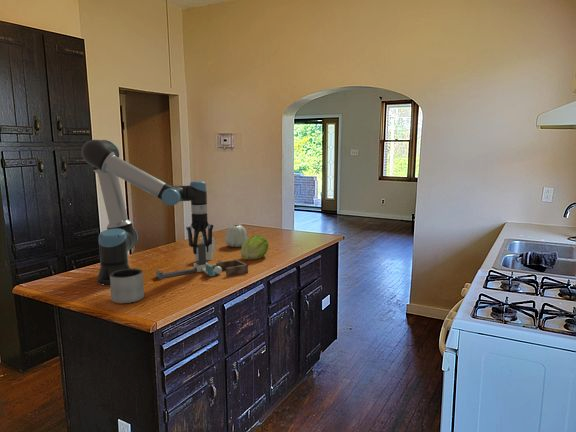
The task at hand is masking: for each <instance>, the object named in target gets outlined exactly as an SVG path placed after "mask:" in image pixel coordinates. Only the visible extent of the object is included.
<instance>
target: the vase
mask: <svg viewBox="0 0 576 432" xmlns="http://www.w3.org/2000/svg"><path fill="white" fill-rule="evenodd" d="M225 232H226V233H225V238H224V239H225V241H224V242H225V243H226V245H227V246H228V247H231V248H242V245H243V243H244V242H245V241H246V240H247V239H249V237H248V232H247V229H246V228H245V227H244V226H243V225H242V224H232V225H230V226H229V227H228V228H227V230H226V231H225Z"/></svg>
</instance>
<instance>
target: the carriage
mask: <svg viewBox="0 0 576 432" xmlns="http://www.w3.org/2000/svg"><path fill="white" fill-rule="evenodd" d="M197 247H198V255H199V261H197V260H195V261H196V262H195V263H193V268H196V269H197V272H196V273H201V272H203V273H205V275H207V276H209V277H215V276H216V274H215V273H214V269H213V266H212V265H213V264H210V263H208V262H207V260H206V248H205V244H204V243H200V242H199V243H197Z"/></svg>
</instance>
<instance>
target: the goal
mask: <svg viewBox="0 0 576 432" xmlns="http://www.w3.org/2000/svg"><path fill="white" fill-rule="evenodd" d="M215 265H216V266H220V267H221V268H222V271H225V277H227V278H228V277H232V276H238V275H244V274H248V273H249V264H247V263H245V262H242V261H240V260H239V259H230V260H224V261H222V262H218V263H217V262H216V263H215Z"/></svg>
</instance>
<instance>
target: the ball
mask: <svg viewBox="0 0 576 432" xmlns="http://www.w3.org/2000/svg"><path fill="white" fill-rule="evenodd" d="M213 272H214V273H215V275H220V274H221V273H222V272H223V270H222V268H221V267H220V266H216V267H215V268H214V269H213Z"/></svg>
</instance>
